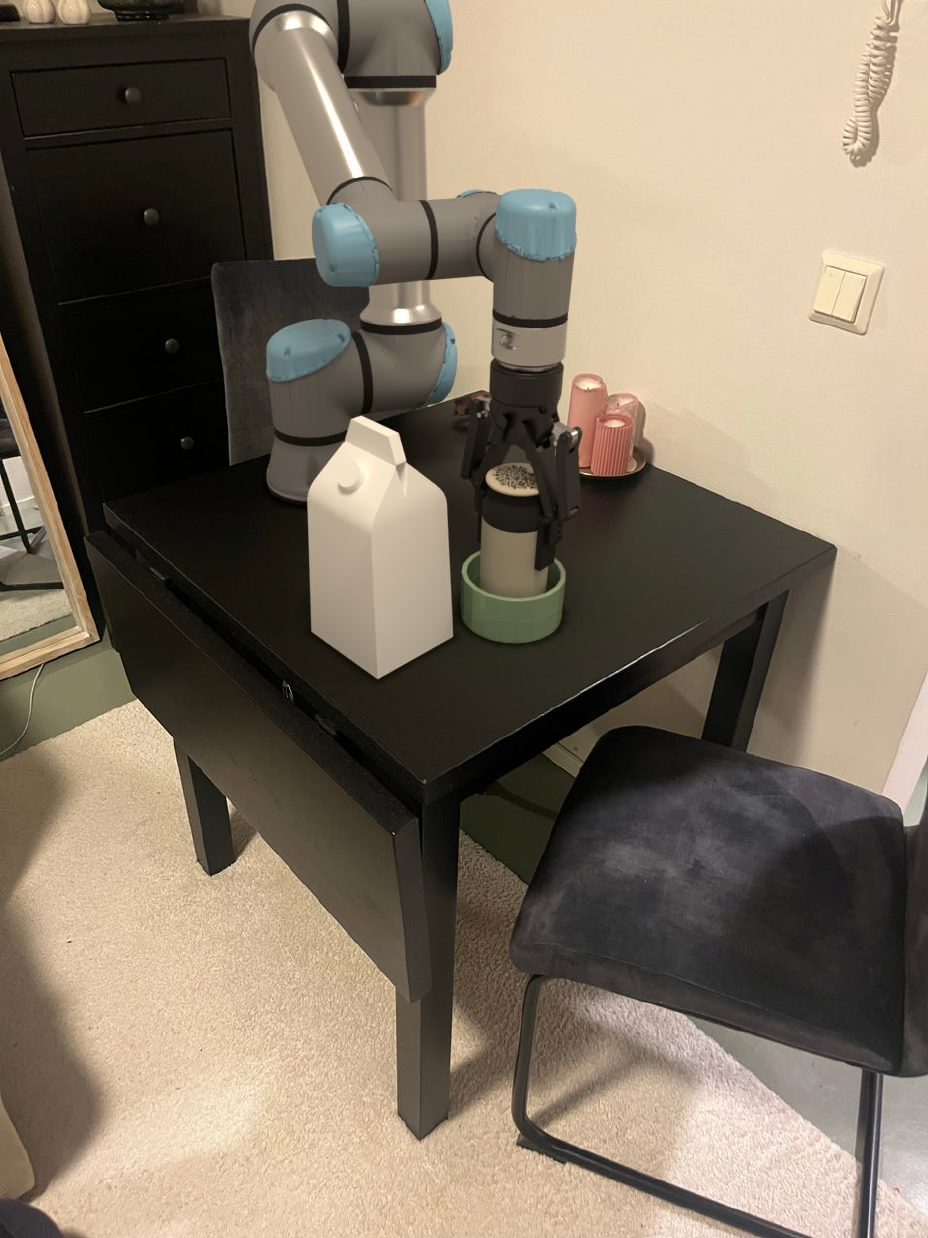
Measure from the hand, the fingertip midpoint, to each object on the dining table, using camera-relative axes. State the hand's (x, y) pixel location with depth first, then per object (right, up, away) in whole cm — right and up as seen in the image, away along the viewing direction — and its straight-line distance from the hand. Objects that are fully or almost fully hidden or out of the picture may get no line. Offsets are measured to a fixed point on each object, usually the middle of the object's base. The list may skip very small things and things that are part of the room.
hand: (514, 551), depth 105 cm
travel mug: (0, -7, +5) cm, 9 cm away
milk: (-15, -10, +1) cm, 18 cm away
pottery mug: (-2, +23, +48) cm, 54 cm away
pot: (0, -7, +5) cm, 9 cm away
